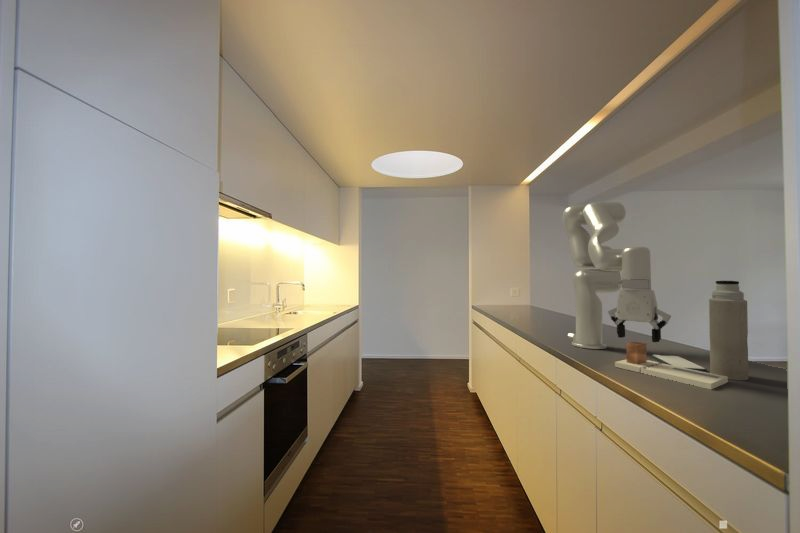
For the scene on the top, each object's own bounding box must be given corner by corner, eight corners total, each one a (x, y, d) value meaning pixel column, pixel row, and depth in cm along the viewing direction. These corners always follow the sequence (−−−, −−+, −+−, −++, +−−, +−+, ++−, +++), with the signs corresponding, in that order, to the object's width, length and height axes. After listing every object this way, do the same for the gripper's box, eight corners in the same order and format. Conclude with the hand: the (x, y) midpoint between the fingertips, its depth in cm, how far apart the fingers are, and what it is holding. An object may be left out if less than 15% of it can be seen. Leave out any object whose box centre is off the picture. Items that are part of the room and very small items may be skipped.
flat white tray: (640, 373, 99) (640, 367, 99) (659, 367, 105) (659, 362, 105) (710, 389, 85) (710, 383, 85) (727, 382, 91) (727, 376, 91)
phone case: (709, 374, 100) (678, 360, 116) (709, 369, 100) (678, 355, 116) (675, 372, 102) (649, 358, 118) (675, 367, 102) (649, 354, 118)
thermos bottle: (742, 374, 98) (741, 280, 99) (753, 382, 91) (751, 281, 92) (706, 370, 102) (705, 280, 103) (714, 377, 95) (713, 280, 96)
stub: (614, 366, 105) (614, 343, 105) (634, 361, 111) (633, 339, 111) (639, 372, 99) (639, 347, 99) (658, 367, 105) (658, 343, 105)
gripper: (602, 285, 111) (603, 336, 110) (663, 285, 96) (665, 345, 95) (614, 285, 115) (615, 334, 114) (674, 285, 100) (676, 342, 99)
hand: (638, 339), depth 105 cm, fingers open, 9 cm apart
